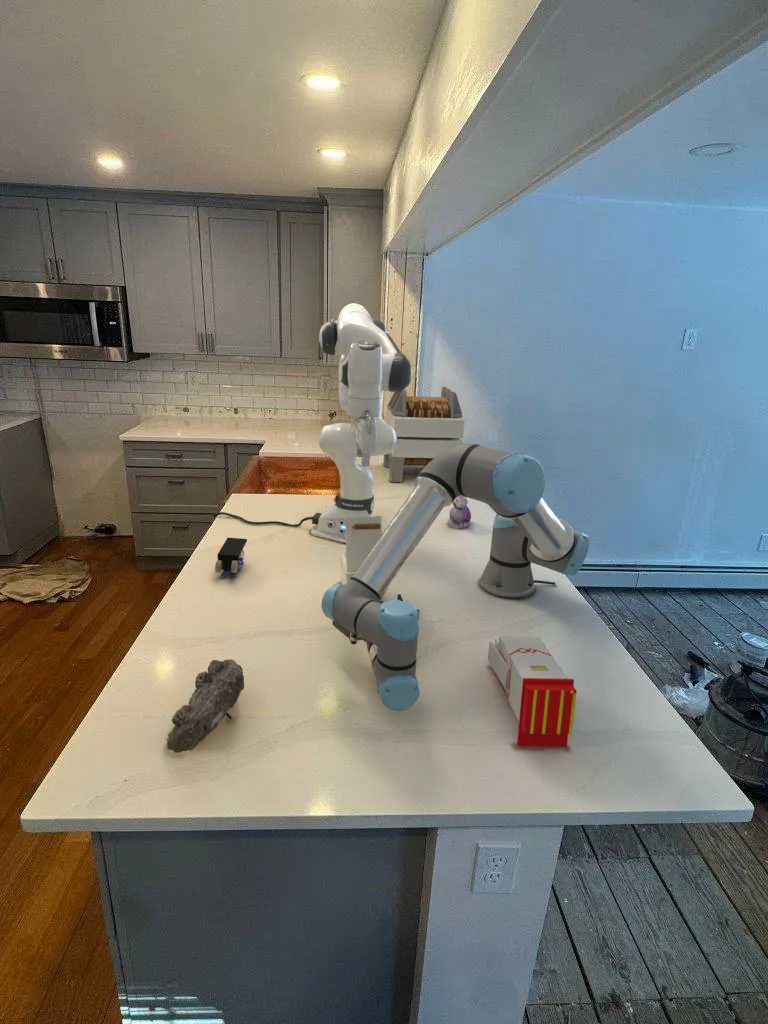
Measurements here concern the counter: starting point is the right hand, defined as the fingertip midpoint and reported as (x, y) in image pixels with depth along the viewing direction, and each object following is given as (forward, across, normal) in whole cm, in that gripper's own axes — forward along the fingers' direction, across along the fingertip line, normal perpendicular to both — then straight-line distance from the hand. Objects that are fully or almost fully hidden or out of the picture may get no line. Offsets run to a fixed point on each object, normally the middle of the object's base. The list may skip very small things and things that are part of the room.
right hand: (371, 600), depth 138 cm
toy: (-31, +27, -8) cm, 42 cm away
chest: (+18, 0, -8) cm, 20 cm away
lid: (+15, 0, +8) cm, 17 cm away
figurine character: (+36, -36, -8) cm, 52 cm away
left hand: (+22, 0, +29) cm, 36 cm away
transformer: (+137, +45, -9) cm, 144 cm away
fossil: (-28, -35, -8) cm, 45 cm away
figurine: (+68, +44, -8) cm, 81 cm away
